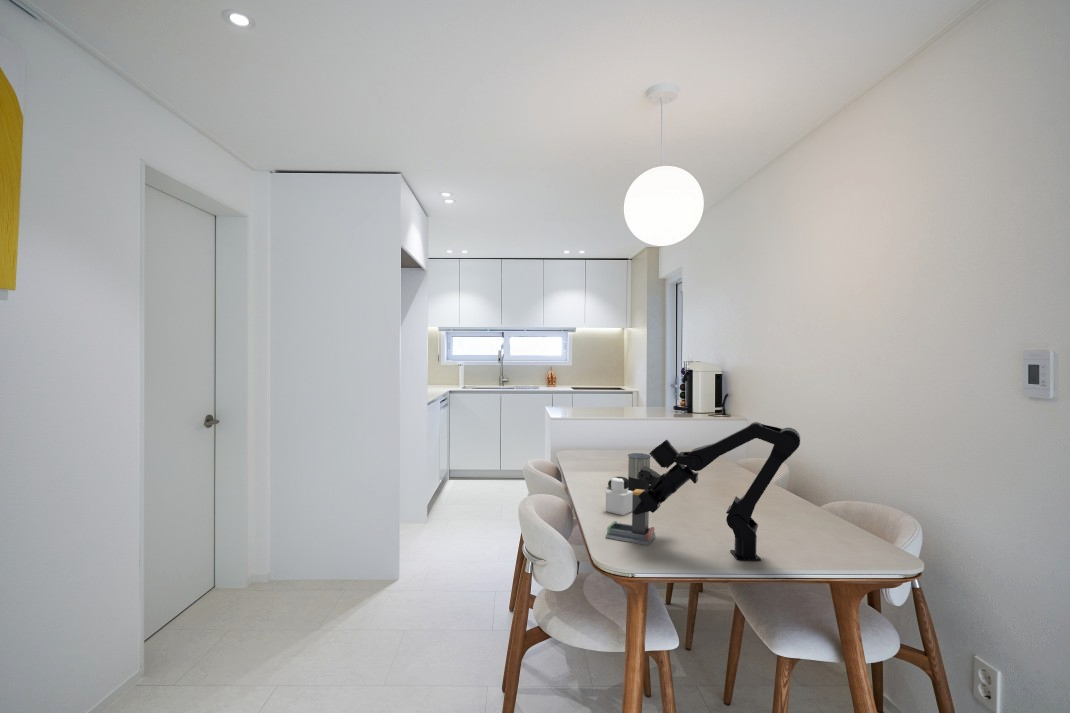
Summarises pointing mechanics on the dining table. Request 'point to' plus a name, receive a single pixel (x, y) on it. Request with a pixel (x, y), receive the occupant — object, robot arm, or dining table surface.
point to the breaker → (639, 515)
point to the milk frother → (636, 471)
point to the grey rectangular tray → (629, 534)
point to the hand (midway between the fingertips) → (636, 511)
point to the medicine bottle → (619, 497)
